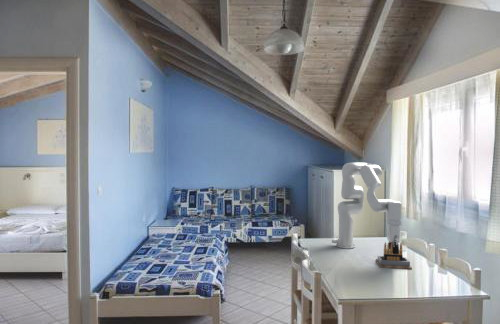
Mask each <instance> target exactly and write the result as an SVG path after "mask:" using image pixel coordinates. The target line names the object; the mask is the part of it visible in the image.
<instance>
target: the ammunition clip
mask: <svg viewBox="0 0 500 324" xmlns="http://www.w3.org/2000/svg"><path fill="white" fill-rule="evenodd" d="M389 243H390V242H389V241H388V242H386V241H385V242H384V246H383V260H394V261H403V257H404V256H403V244H402V242H401V243H400V244H399V254H393V245H392V243H391V246H389ZM394 244H395V243H394Z"/></svg>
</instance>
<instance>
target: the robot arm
mask: <svg viewBox="0 0 500 324" xmlns="http://www.w3.org/2000/svg"><path fill="white" fill-rule="evenodd" d="M382 173H383V171H382V168H381V167H380V166H379V165H378V164H374V163H370V162H357V161H356V162H354V161H353V162H347V163H344V165H343V166H342V169H341V175H342V180H341V181H342V182H341V198H342V199H343V201H340V202H339V203H338V205H337V212H338V238H337V239H336V240H335V239H331V243H333V244H335V246H336V247H337V248H340V249H348V250H349V249H355V247H356V246H355V244H354V240H353V239H354V220H353V217H352V216H353V215H359V214H361V213H362V211H363V207H364V197H365V192H364V189H363V187H362V186H360V185H356V179H355V176H361V178H362V180H363V182H364V184H365V186H366V188H367V191H366V200H367V203H368V205H369V206H370V208H371V210H372V211H373V212H375V213H386V214H387V216H386V217H387V219H386V223H387V235H386V239H387V240H388V242H389V246H391V243H392V245H393V254H399V250H400V244H399V243H400V239H401V238H400V235H401V234H400V227H401V226H402V203H401V201H398V200H393V199H390V198H385V199H383V198H382V199H378V197H377V196H376V194H375V193H376V192H375V191H377V190H378V189H379V188H380V187H381V185H382V183H381V180H380V179H379V178H380V177H381V176H382ZM394 243H395V244H394Z"/></svg>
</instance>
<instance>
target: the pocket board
mask: <svg viewBox="0 0 500 324" xmlns="http://www.w3.org/2000/svg"><path fill="white" fill-rule="evenodd" d="M375 262H376V263H377V264H378V266H379V268H382V269H383V268H384V269H398V270H399V269H402V270H403V269H404V270H412V269H413V267H412V266H411V261H410V260H409V259H408V258H407V257H404V256H403V261H394V260H383V256H382V255H377V258H375Z"/></svg>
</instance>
